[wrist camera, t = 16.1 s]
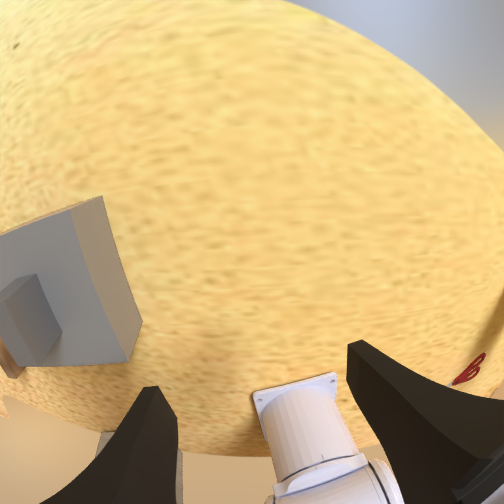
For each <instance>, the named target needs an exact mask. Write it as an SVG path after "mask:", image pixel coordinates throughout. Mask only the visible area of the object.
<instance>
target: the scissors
mask: <svg viewBox="0 0 504 504" xmlns="http://www.w3.org/2000/svg"><path fill="white" fill-rule="evenodd" d="M485 356H486V354H485V353H482V354H481V355H480V356H479V357H477V358H476V359H475V360H474V361H473V362H472V363H471V364H470V365H469V366H468V367H467V368H466V369H465V370H464V371H463V372H462V373H461V374H460V375H459V376H458V377H457V378H456V379H455V380H454V381H452V382H451V383H450V384H449V385H447V386H446V387H450V386H451V385H453V386H454V385H456V384H459V383H463V382H466V381H469V380H471V379H472V378H474V377H475V376H476V375H477V374H478V372H479V370H480V367H479V366H478V365H479V364H481V363H482V361H483V360H484V358H485ZM481 357H482V359H481V360H480V361H479V362H478V363H477V364H475V363H476V362H477V361H478V360H479V359H480V358H481ZM474 364H475V365H474ZM473 365H474V366H473ZM477 366H478V367H477ZM475 367H477V368H475ZM474 368H475V369H474ZM472 369H474V370H473V371H471V370H472ZM476 370H477V372H476V373H475V374H474V375H473V376H471V377H469V376H470V375H471V374H472V373H474V372H475V371H476ZM470 371H471V372H470ZM469 372H470V373H469ZM468 373H469V374H468ZM468 377H469V378H468Z"/></svg>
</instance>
